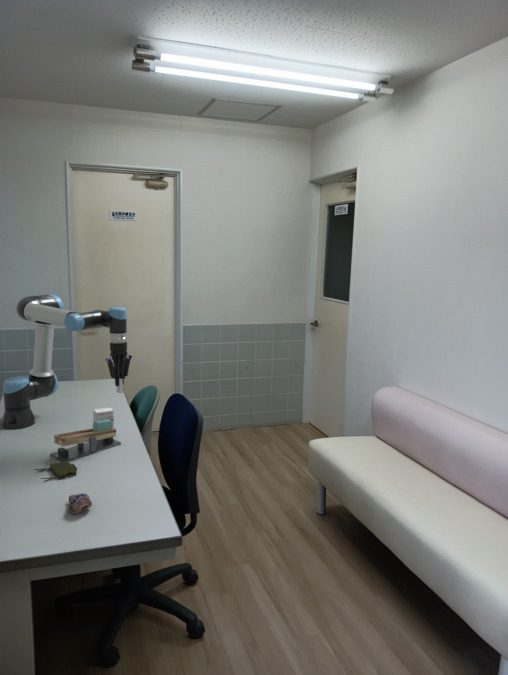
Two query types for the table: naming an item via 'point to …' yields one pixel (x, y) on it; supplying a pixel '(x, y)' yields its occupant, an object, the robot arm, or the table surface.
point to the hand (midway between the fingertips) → (119, 392)
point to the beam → (82, 436)
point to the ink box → (104, 414)
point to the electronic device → (60, 470)
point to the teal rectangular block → (102, 425)
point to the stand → (84, 449)
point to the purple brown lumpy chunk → (79, 502)
